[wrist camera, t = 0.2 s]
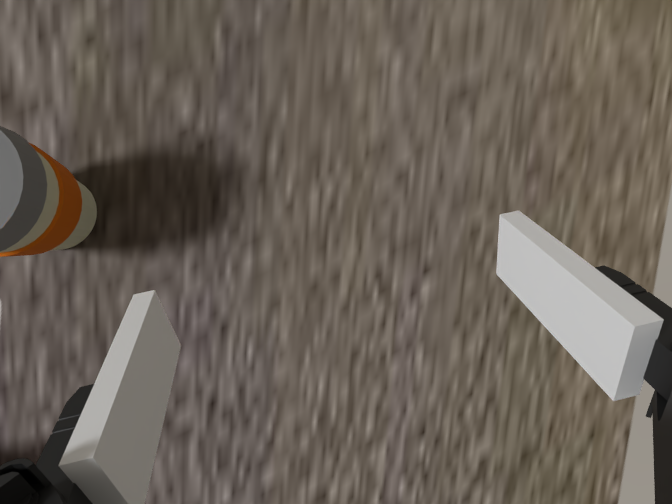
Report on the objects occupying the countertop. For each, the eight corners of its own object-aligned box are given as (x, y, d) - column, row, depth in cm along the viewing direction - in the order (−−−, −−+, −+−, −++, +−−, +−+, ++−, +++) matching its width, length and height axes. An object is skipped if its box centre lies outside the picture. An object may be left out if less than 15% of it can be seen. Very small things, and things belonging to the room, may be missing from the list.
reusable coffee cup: (98, 151, 52) (8, 95, 37) (123, 248, 51) (41, 231, 36) (-5, 178, 51) (-139, 132, 36) (19, 277, 50) (-109, 272, 35)
